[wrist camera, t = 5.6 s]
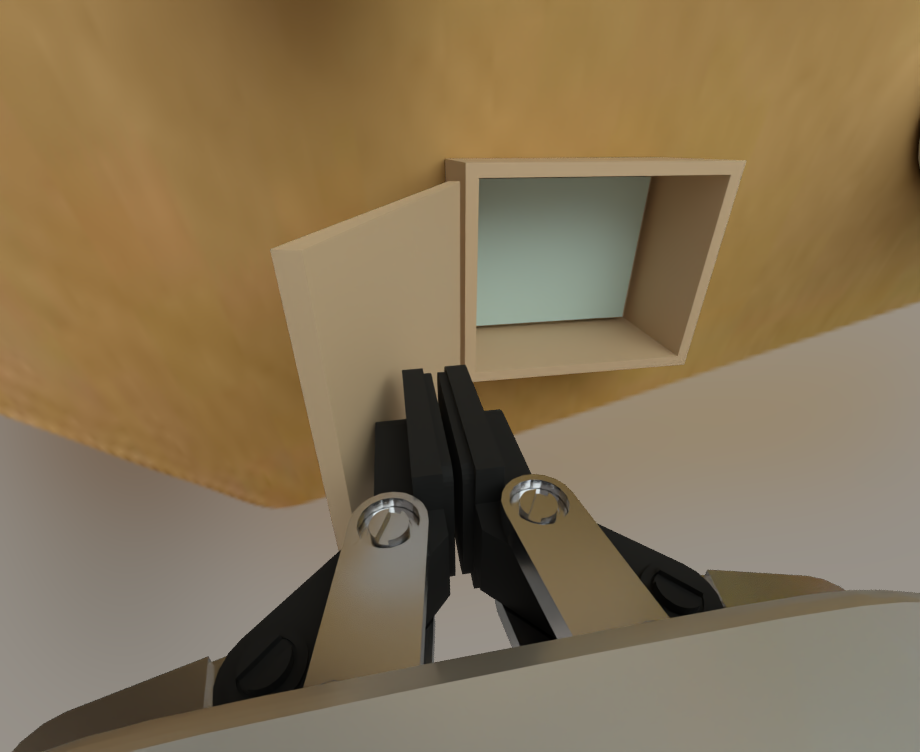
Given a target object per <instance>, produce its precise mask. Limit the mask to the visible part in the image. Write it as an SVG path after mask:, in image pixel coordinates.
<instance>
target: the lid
mask: <svg viewBox="0 0 920 752" xmlns="http://www.w3.org/2000/svg"><path fill="white" fill-rule="evenodd" d="M270 251H271V255H272V260H273V264H274V269H275V273H276V277H277V282H278V286H279V291H280V295H281V299H282V304H283V308H284V313H285V317H286V321H287V326H288V330H289V335H290V339H291V343H292V348H293V352H294V357H295V361H296V365H297V370H298V374H299V379H300V383H301V387H302V392H303V396H304V401H305V405H306V410H307V414H308V418H309V423H310V427H311V432H312V436H313V440H314V445H315V449H316V454H317V458H318V462H319V467H320V471H321V476H322V480H323V484H324V489H325V493H326V498H327V501H328V506H329V511H330V515H331V520H332V523H333V528H334V533H335V537H336V541H337V546H338V550H339V551H340V550H341V548H342V545H343V541H344V537H345V534H346V530H347V526H348V523H349V520H350V518H351V516H352V514H353V512H354V511H355V510H356V509H357V508H358V507H359V505H360V504H362V503H363V502H365V501H366V500H368V499H369V498H371V497H373V496H374V461H375V423H376V422H382V421H391V420H401V419H406V412H405V401H404V390H403V378H402V370H408V369H419V368H423V373H424V374H425V373H431V374H432V378H433V383H434V387H435V392H436V396H437V401H438V390H437V372H444V367H445V366H454V365H460V181H448V182H445V183H443V184H440V185H437V186H435V187H432V188H429V189H427V190H424V191H422V192H419V193H416V194H414V195H411V196H408V197H406V198H403V199H401V200H398V201H395V202H393V203H390V204H388V205H385V206H382V207H380V208H377V209H374V210H372V211H369V212H367V213H364V214H361V215H359V216H356V217H353V218H351V219H348V220H346V221H343V222H340V223H338V224H335V225H333V226H330V227H327V228H325V229H322V230H319V231H317V232H314V233H312V234H309V235H306V236H304V237H301V238H299V239H296V240H293V241H291V242H288V243H285V244H283V245H280V246H278V247H275V248H272V249H270Z"/></svg>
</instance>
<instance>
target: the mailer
mask: <svg viewBox="0 0 920 752" xmlns="http://www.w3.org/2000/svg"><path fill="white" fill-rule="evenodd" d="M745 164H746V160H719V159H693V158H666V157H626V158H468V159H445V182H448V181H460V365H466V367H467V369H468V372H469V374H470V377H471V379H472V382H478V381H490V380H502V379H514V378H526V377H538V376H550V375H562V374H574V373H586V372H598V371H610V370H622V369H634V368H646V367H658V366H670V365H682V364H684V363H685V360H686V357H687V353H688V350H689V347H690V344H691V340H692V337H693V334H694V331H695V327H696V324H697V321H698V317H699V314H700V311H701V308H702V304H703V301H704V298H705V295H706V291H707V288H708V285H709V281H710V278H711V275H712V272H713V268H714V265H715V262H716V259H717V255H718V252H719V249H720V245H721V242H722V239H723V236H724V232H725V229H726V226H727V223H728V219H729V216H730V213H731V209H732V206H733V203H734V200H735V196H736V193H737V190H738V187H739V183H740V180H741V177H742V173H743V170H744V167H745Z"/></svg>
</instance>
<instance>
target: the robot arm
mask: <svg viewBox="0 0 920 752" xmlns="http://www.w3.org/2000/svg"><path fill="white" fill-rule="evenodd" d="M918 160H919V167H920V139H919V152H918ZM402 378H403V390H404V401H405V412H406V419H401V420H391V421H382V422H376V423H375V461H374V496H373V497H371V498H369V499H368V500H366V501H365V502H363V503H362V504H360V505H359V507H358V508H357V509H356V510H355V511H354V512H353V514H352V516H351V518H350V520H349V523H348V526H347V530H346V534H345V537H344V541H343V545H342V548H341V550H340V551H339V552H338V553H337V554H336V555H334V557H332V558H331V559H330V560H329V561H328V562H327V563H326V564H324V565H323V567H321V568H320V569H319V570H318V571H317V572H316V573H315V574H313V575H312V576H311V577H310V578H309V579H308V580H307V581H306V582H304V583H303V584H302V585H301V586H300V587H299V588H298V589H297V590H296V591H294V592H293V593H292V594H291V595H290V596H289V597H288V598H287V599H286V600H285V601H283V602H282V603H281V604H280V605H279V606H278V607H277V608H276V609H275V610H273V611H272V612H271V613H270V614H269V615H268V616H267V617H266V618H264V619H263V620H262V621H261V622H260V623H259V624H258V625H257V626H256V627H254V629H252V630H251V631H250V632H249V633H248V634H247V635H245V636H244V637H243V638H242V639H241V640H240V641H239V642H238V643H237V645H236V646H235V647H234V648H233V649H232V650H231V651H230V652H229V653H228V655H227V656H226V657H223V658H221V659H218V660H215V661H213V662H211V660H210V659H209V657H205V658H203V659H200V660H197V661H195V662H192V663H190V664H187V665H185V666H182V667H180V668H177V669H174V670H172V671H169V672H167V673H164V674H161V675H159V676H156V677H154V678H151V679H149V680H146V681H143V682H141V683H138V684H136V685H133V686H131V687H128V688H125V689H123V690H120V691H118V692H115V693H113V694H110V695H108V696H105V697H102V698H100V699H97V700H95V701H92V702H90V703H87V704H84V705H82V706H79V707H77V708H74V709H71V710H69V711H67V712H64V713H62V714H61V715H59V716H57V717H55V718H53V719H51V720H49V721H47V722H46V723H44V724H42V725H41V726H40V727H39V728H37V729H36V730H35V731H34V732H32V733H31V734H30V735H29V736H28V737H26V738H25V739H24V740H23V741H21V742H20V743H19V744H18V746H17V747H16V748H15V749H14V750H13V751H12V752H920V593H913V592H902V591H888V590H844V589H843V588H841V587H840V586H837V585H835V584H833V583H831V582H829V581H826V580H824V579H820V578H815V577H811V576H802V575H784V574H769V573H753V572H752V573H751V572H737V571H720V570H707V572H706V574H705V575H700V574H699V573H697V572H696V571H694V570H692V569H691V568H689V567H688V566H686V565H684V564H682V563H680V562H678V561H676V560H674V559H672V558H669V557H667V556H665V555H663V554H661V553H659V552H657V551H654V550H652V549H650V548H648V547H646V546H644V545H642V544H640V543H638V542H635V541H633V540H631V539H629V538H627V537H625V536H623V535H621V534H618V533H616V532H614V531H612V530H610V529H607V528H606V527H603V526H601V525H599V524H597V523H596V522H595V521H594V520H593V518H592V517H591V515H590V514H589V513H588V512H587V510H586V509H585V508H584V506H583V505H582V504H581V503H580V501H579V500H578V499H577V497H576V496H575V495H574V493H573V492H572V491H571V490H570V489H569V488H567V486H566V485H565V484H563V483H561V482H560V481H558V480H556V479H554V478H551V477H548V476H545V475H537V474H531V472H530V470H529V468H528V466H527V464H526V462H525V459H524V457H523V455H522V453H521V451H520V448H519V446H518V444H517V442H516V440H515V438H514V435H513V433H512V431H511V429H510V427H509V425H508V422H507V420H506V418H505V416H504V414H503V412H502V410H500V409H499V410H489V411H484V410H483V407H482V405H481V402H480V400H479V397H478V395H477V392H476V390H475V387H474V384H473V382H472V379H471V377H470V374H469V372H468V369H467V367H466V365H454V366H445V367H444V372H437V390H438V401H437V396H436V392H435V387H434V383H433V378H432V374H431V373H425V374H424V373H423V368H419V369H408V370H402ZM455 540H456V545H457V550H458V555H459V561H460V566H461V570H462V574H467V573H471V577H472V581H473V586H474V588H480V590H482V591H483V592H485V593H486V594H488V595H489V596H491V597H492V598H494V599H495V604H496V608H497V612H498V615H499V617H500V619H501V622H502V624H503V627H504V629H505V632H506V634H507V636H508V639H509V641H510V644H511V646H512V648H509V649H503V650H498V651H493V652H488V653H483V654H477V655H472V656H466V657H461V658H456V659H451V660H445V661H440V662H435V663H434V643H435V614H436V613H437V612H438V610H439V609H440V608H441V606H442V605H443V604H444V602H445V601H446V600H447V598H448V597H449V596H450V576H455Z"/></svg>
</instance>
